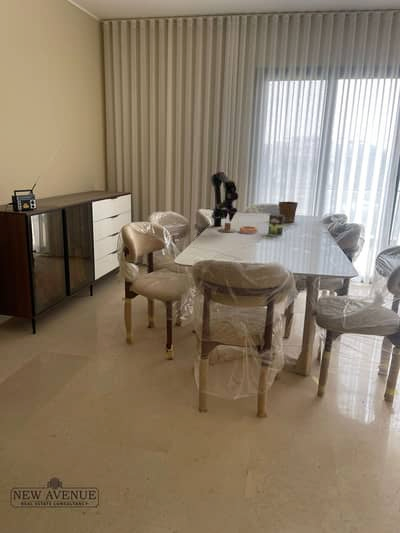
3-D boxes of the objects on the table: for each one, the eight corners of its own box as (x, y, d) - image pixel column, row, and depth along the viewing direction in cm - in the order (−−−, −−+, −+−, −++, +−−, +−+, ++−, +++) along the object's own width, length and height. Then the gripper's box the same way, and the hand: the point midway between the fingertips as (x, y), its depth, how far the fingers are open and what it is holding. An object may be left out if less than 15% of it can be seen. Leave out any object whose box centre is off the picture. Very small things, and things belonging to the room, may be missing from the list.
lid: (215, 229, 291) (216, 221, 289) (231, 228, 295) (232, 221, 293) (222, 233, 279) (222, 225, 277) (239, 232, 283) (239, 224, 282)
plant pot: (275, 222, 325) (277, 203, 321) (277, 219, 340) (279, 201, 336) (295, 224, 321) (297, 204, 316) (296, 220, 336) (298, 202, 331)
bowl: (237, 231, 289) (238, 226, 288) (252, 230, 293) (252, 225, 292) (244, 234, 278) (244, 229, 277) (259, 233, 282) (260, 228, 281)
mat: (215, 229, 291) (215, 229, 291) (232, 229, 296) (232, 228, 296) (222, 233, 279) (222, 233, 279) (239, 232, 283) (239, 232, 283)
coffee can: (280, 236, 274) (281, 216, 270) (266, 234, 278) (267, 215, 274) (284, 233, 282) (285, 214, 278) (270, 232, 287) (272, 213, 283)
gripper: (213, 197, 286) (212, 218, 291) (223, 200, 269) (222, 222, 274) (227, 197, 290) (226, 217, 294) (237, 200, 273) (236, 222, 277)
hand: (227, 220), depth 285 cm, fingers open, 9 cm apart
